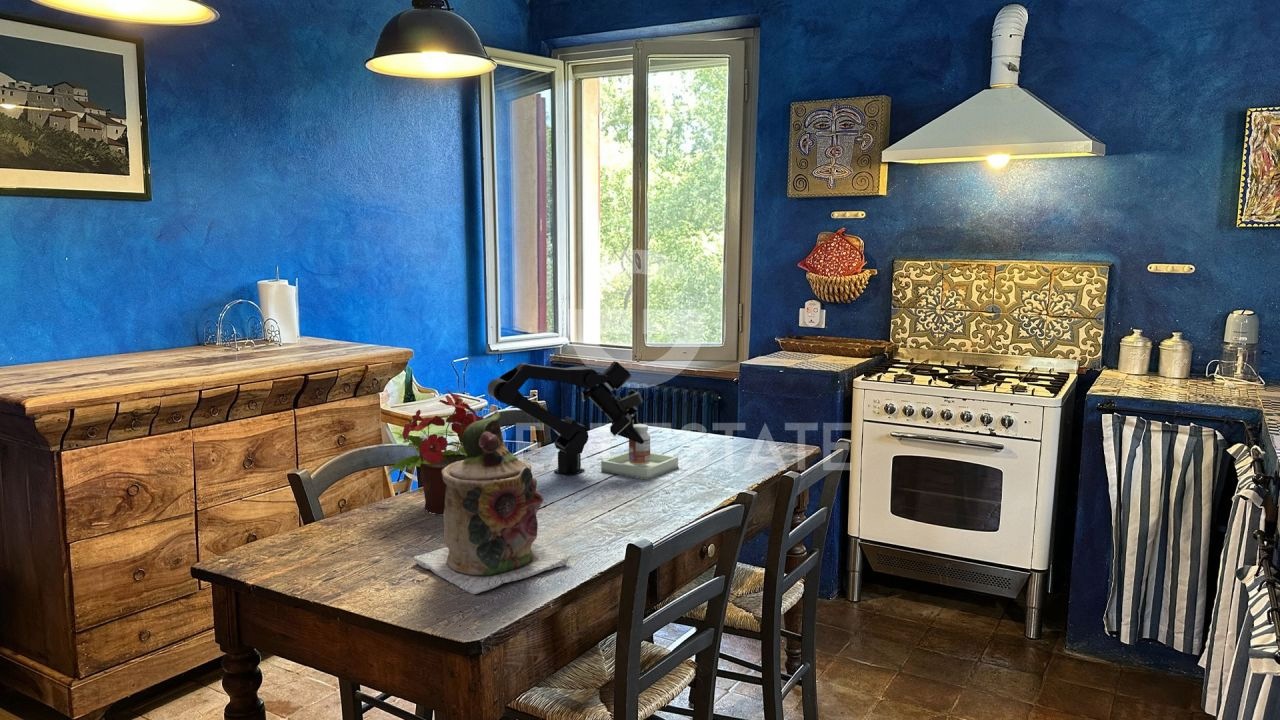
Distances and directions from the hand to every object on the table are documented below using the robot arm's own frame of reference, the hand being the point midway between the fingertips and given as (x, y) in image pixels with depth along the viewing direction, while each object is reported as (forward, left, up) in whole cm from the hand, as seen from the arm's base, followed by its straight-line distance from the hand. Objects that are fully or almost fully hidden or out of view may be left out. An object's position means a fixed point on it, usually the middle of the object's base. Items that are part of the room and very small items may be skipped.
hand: (644, 440), depth 257 cm
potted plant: (-55, +22, -9) cm, 59 cm away
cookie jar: (-78, -15, -9) cm, 80 cm away
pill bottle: (-1, +1, -7) cm, 7 cm away
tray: (-1, +1, -9) cm, 9 cm away
